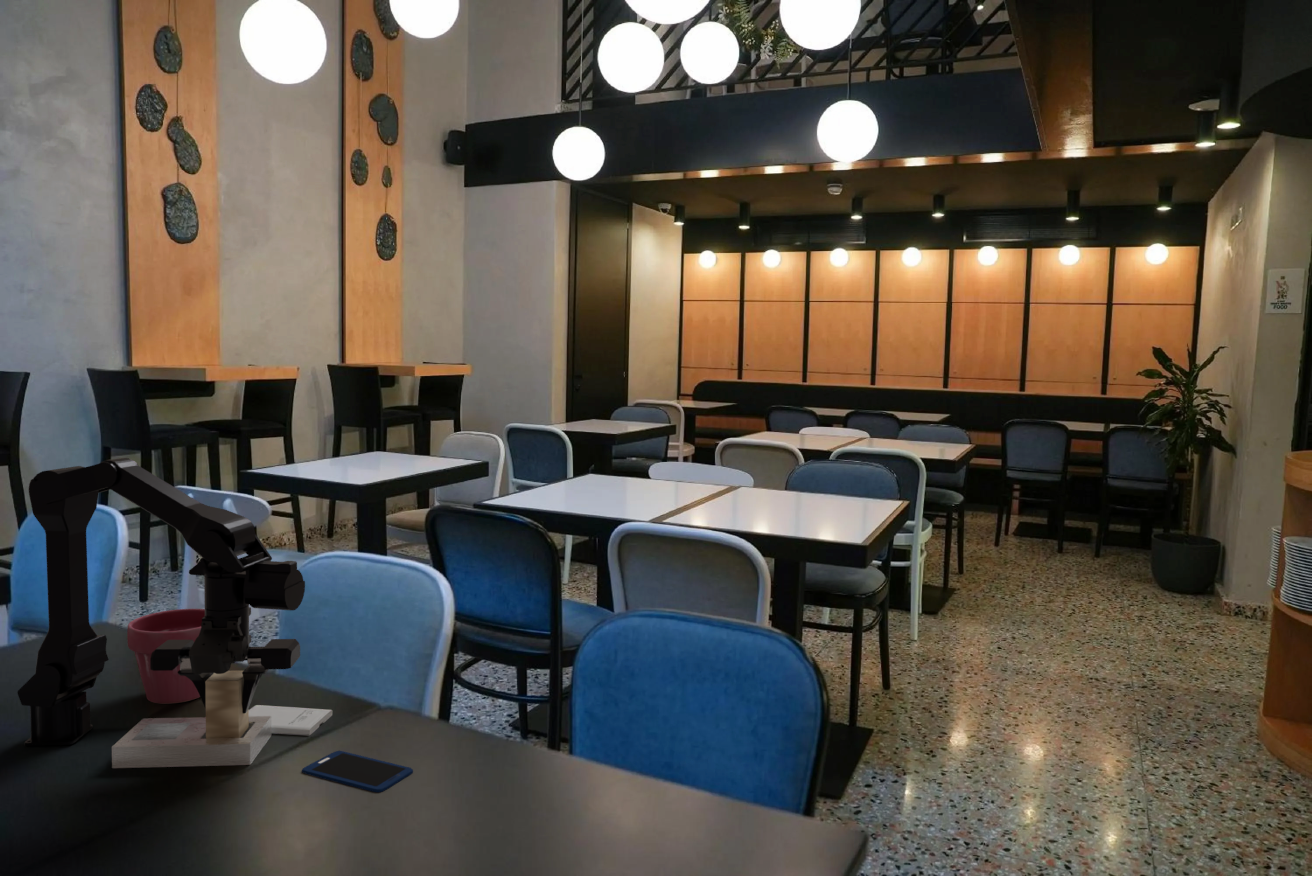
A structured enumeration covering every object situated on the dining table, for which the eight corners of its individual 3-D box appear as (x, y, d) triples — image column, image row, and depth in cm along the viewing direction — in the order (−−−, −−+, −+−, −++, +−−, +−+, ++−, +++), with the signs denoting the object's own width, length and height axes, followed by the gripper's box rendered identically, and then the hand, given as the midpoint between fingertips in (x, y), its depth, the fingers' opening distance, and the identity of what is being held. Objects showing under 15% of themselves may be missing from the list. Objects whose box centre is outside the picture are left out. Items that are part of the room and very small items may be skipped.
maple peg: (205, 740, 129) (205, 681, 128) (216, 727, 133) (216, 670, 132) (238, 739, 129) (238, 680, 128) (248, 727, 134) (248, 670, 133)
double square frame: (112, 767, 125) (111, 746, 124) (143, 738, 135) (143, 718, 134) (250, 764, 127) (250, 743, 127) (271, 735, 137) (271, 715, 137)
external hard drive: (257, 713, 146) (332, 717, 146) (229, 734, 138) (309, 738, 137) (257, 703, 146) (332, 707, 145) (229, 723, 138) (309, 728, 137)
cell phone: (337, 754, 132) (337, 749, 132) (415, 773, 127) (415, 768, 126) (298, 774, 125) (298, 769, 125) (380, 795, 120) (380, 790, 120)
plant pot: (109, 698, 149) (108, 621, 148) (189, 674, 162) (188, 603, 161) (163, 717, 143) (162, 636, 142) (242, 690, 155) (242, 616, 154)
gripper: (131, 622, 120) (133, 737, 122) (279, 621, 123) (279, 734, 124) (166, 600, 131) (167, 705, 133) (301, 600, 134) (301, 703, 135)
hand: (227, 712), depth 131 cm, fingers closed on maple peg, 4 cm apart
